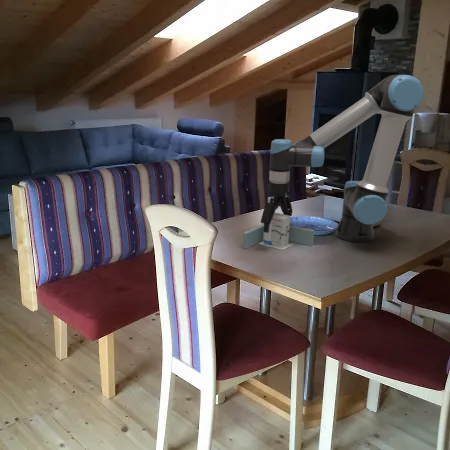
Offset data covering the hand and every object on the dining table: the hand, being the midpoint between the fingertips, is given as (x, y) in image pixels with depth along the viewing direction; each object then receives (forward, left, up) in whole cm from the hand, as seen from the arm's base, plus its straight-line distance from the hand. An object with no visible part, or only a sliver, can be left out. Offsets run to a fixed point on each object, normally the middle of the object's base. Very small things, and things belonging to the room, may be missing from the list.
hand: (276, 235), depth 194 cm
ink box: (0, 0, -4) cm, 4 cm away
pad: (0, 0, -4) cm, 4 cm away
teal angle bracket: (-2, +1, -4) cm, 4 cm away
